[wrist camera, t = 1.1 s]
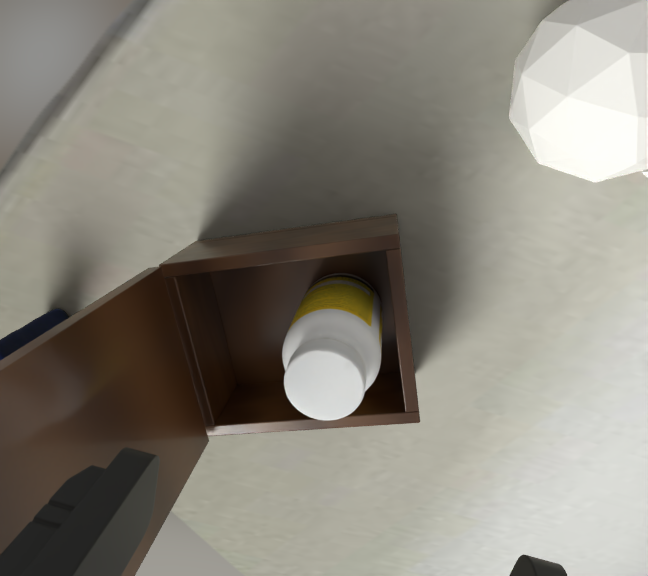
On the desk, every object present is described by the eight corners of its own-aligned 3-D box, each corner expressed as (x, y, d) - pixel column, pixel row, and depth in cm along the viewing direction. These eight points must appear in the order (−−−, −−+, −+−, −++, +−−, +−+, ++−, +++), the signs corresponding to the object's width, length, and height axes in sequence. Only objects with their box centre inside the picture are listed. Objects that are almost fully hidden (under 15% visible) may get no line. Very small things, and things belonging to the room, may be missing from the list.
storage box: (396, 213, 30) (398, 233, 25) (414, 374, 34) (420, 423, 29) (196, 240, 33) (158, 264, 27) (233, 389, 36) (205, 436, 31)
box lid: (-67, 415, 13) (-201, 425, 14) (68, 697, 17) (-44, 694, 18) (161, 266, 27) (87, 275, 28) (209, 440, 30) (142, 444, 31)
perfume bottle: (445, 118, 26) (592, 242, 29) (548, 71, 18) (746, 256, 20) (537, -14, 26) (677, 123, 29) (689, -131, 17) (871, 84, 20)
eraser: (60, 304, 36) (-11, 345, 29) (79, 328, 36) (13, 374, 30) (40, 316, 36) (-34, 359, 30) (59, 340, 37) (-11, 387, 30)
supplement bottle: (288, 290, 32) (249, 358, 23) (361, 258, 31) (351, 317, 22) (324, 357, 34) (300, 446, 24) (395, 328, 32) (399, 412, 23)
